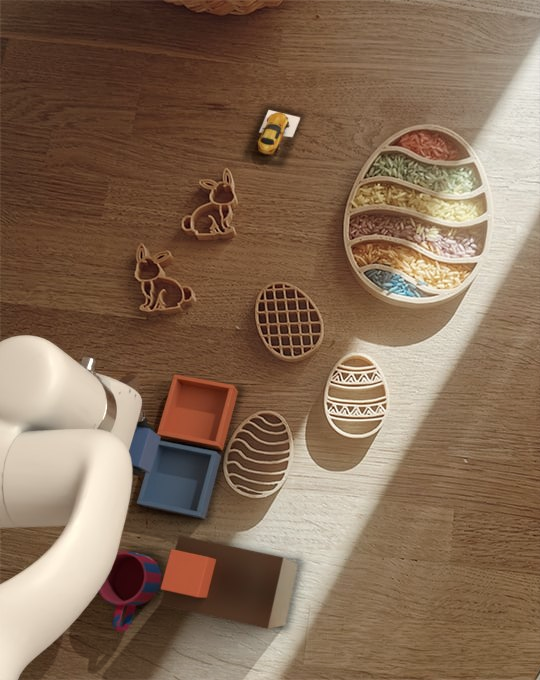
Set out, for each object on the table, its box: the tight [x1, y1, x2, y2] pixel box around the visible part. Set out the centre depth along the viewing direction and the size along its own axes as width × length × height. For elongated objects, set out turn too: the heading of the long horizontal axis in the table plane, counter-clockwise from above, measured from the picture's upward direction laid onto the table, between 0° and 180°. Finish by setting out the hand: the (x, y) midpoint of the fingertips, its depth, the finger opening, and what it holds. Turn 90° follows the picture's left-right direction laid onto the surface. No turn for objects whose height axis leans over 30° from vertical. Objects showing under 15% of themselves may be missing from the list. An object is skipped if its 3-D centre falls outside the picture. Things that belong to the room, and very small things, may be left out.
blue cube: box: [129, 426, 162, 473], centre depth 84 cm, size 4×4×4 cm
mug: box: [98, 550, 162, 633], centre depth 98 cm, size 7×10×7 cm
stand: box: [160, 535, 299, 630], centre depth 93 cm, size 8×13×16 cm, turn 78°
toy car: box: [256, 109, 301, 156], centre depth 124 cm, size 4×8×2 cm, turn 162°
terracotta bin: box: [156, 374, 239, 452], centre depth 108 cm, size 9×9×4 cm
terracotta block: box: [160, 549, 216, 598], centre depth 84 cm, size 4×4×4 cm
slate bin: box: [136, 440, 222, 520], centre depth 104 cm, size 9×9×4 cm
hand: (135, 449), depth 86 cm, fingers closed on blue cube, 4 cm apart
